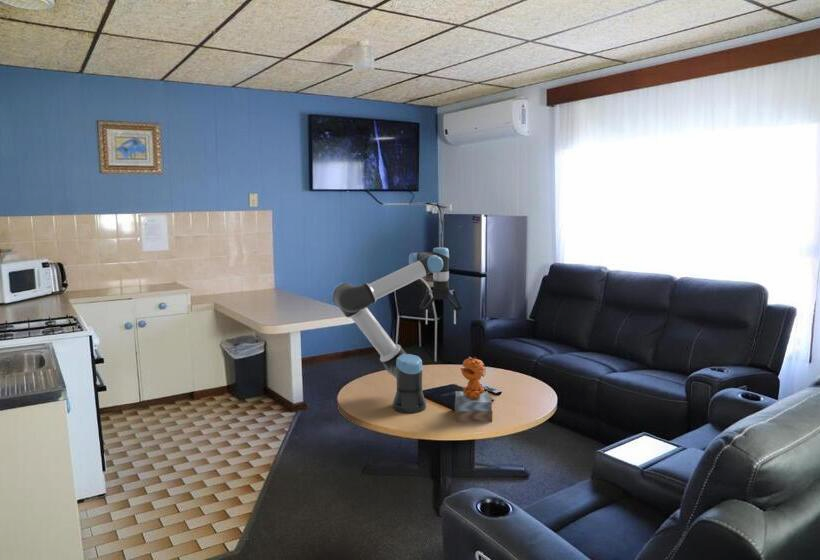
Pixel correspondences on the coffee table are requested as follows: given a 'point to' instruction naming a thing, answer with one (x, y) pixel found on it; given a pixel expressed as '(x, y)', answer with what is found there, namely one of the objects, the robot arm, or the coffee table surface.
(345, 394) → the coffee table surface
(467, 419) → the grey square block
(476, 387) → the orange figurine
